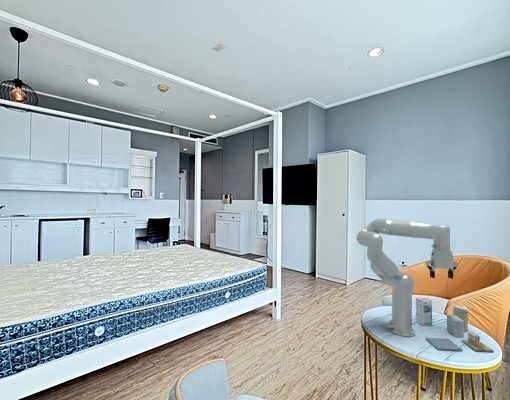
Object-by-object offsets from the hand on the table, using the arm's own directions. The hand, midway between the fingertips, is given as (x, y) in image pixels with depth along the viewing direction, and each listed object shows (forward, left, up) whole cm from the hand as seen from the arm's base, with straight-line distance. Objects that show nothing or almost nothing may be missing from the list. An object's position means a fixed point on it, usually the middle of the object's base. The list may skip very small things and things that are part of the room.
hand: (441, 277), depth 146 cm
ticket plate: (-11, -18, -28) cm, 35 cm away
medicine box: (+4, -5, -29) cm, 29 cm away
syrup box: (-6, +6, -28) cm, 30 cm away
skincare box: (+11, +1, -28) cm, 31 cm away
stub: (+5, -18, -28) cm, 34 cm away
